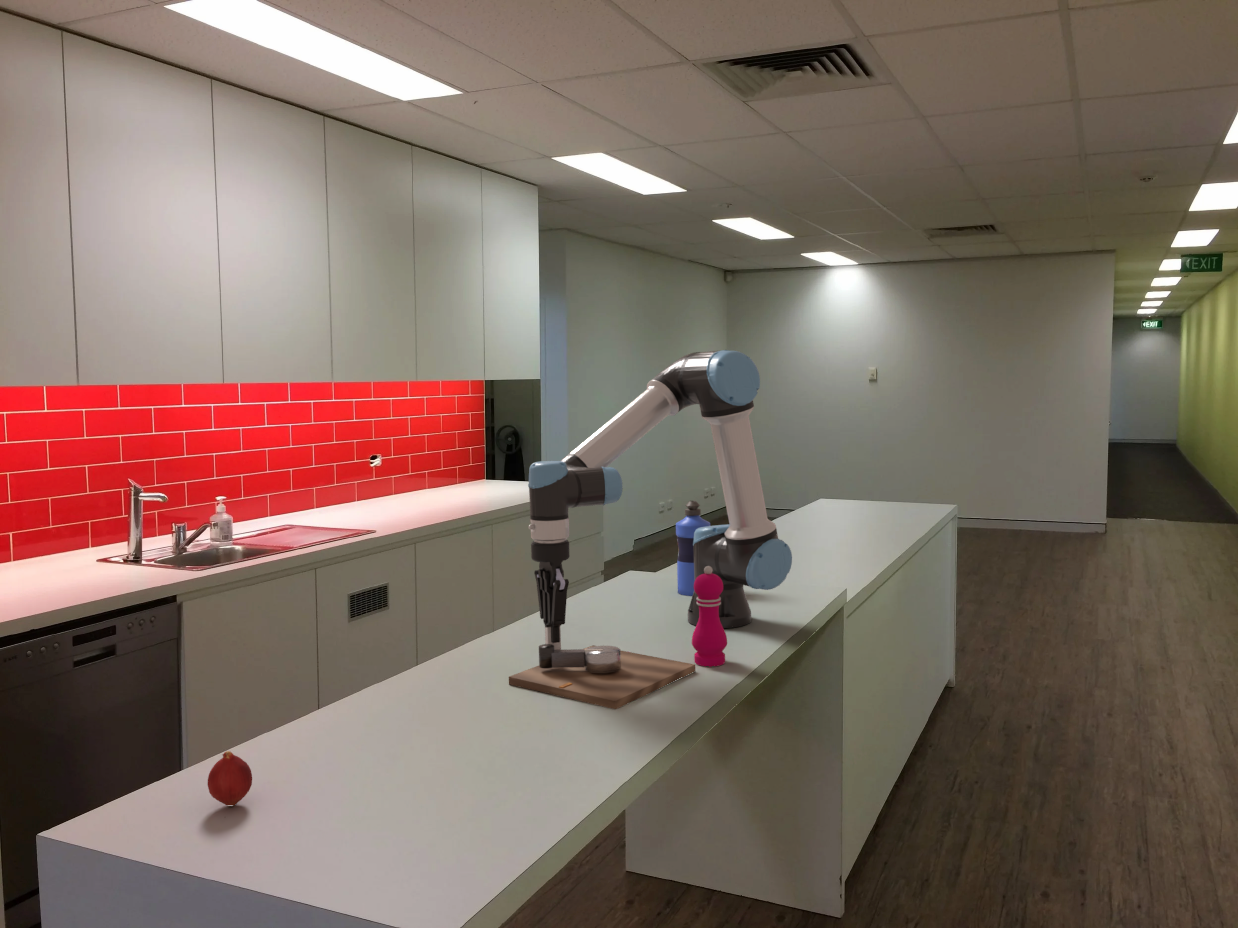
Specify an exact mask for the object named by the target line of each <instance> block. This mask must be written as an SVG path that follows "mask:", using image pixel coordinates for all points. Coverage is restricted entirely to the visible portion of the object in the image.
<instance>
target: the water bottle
mask: <svg viewBox="0 0 1238 928" xmlns="http://www.w3.org/2000/svg"><path fill="white" fill-rule="evenodd" d="M700 506H701V505H700V503H699V502H697V501H696V500H689V501H688V502H687V503H686V504H685V507H686V508H685V509H684V515H685V517H684V518H682V519H680V520H679V521H677V522H676V523H675V536H676V542H677V547H678V550H677V551H678V552H677V553H678V554H677V559H676V560H677V562H676V563H677V564H676V565H677V567H676V569H677V570H676V571H677V573H676V575H677V579H676V580H677V594H678V595H681V596H687V597H692V596H693V593H694V547H693V541H694V532H695V530H696V529H698V528H700V527H706V526H711V522H710V521H707V520H706V519H703V518H702V517H701V514H702V513H701V511H702V510H701V508H699V507H700Z"/></svg>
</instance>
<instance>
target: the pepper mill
mask: <svg viewBox="0 0 1238 928" xmlns="http://www.w3.org/2000/svg"><path fill="white" fill-rule="evenodd" d="M712 571H713V570H712V567H710V566H706V567H705V568H704V573H705V574H701V575H699V576H698V577H697V578H696V579H695V582H694V591H695V593H696V594H697V595H698V597H697V598H696V599H697V605H699V620H698V623H697V625H695V628H694V631H693V633H692V637H691V638H692V639H691V645H692V647H693V649H694V650H695V651H696V652H695V653H694V654H693V655H694V656H693V657H694V659H693V660H694V664H695V663H696V664H695V665H697V666H700V667H706V666H709V668H712V666H714V667H720V666H722V665H724V664H725V663H726V654H725V652H723V651H724V650H725V649H726V648H727V645H728V638H727V634H726V631H725V628H723V627H722V624H721V622H720V619H719V605H720V604H721V602H720V600H721V597H719V595H720V594H721V593H722V591H723V582H722V580H721V578H720V577H719V576H718V575H716V574H712Z"/></svg>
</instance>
